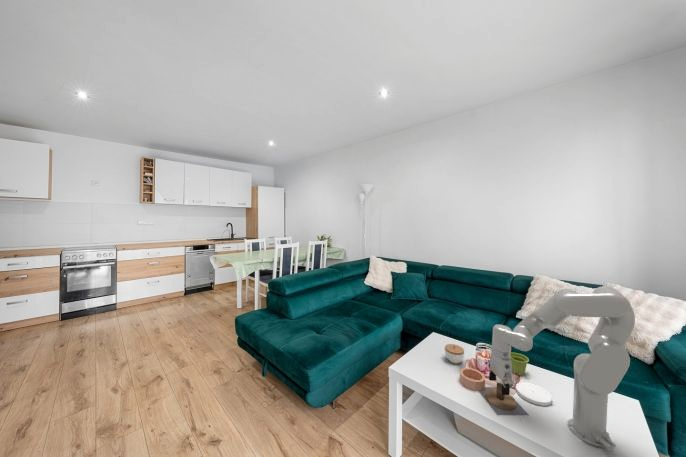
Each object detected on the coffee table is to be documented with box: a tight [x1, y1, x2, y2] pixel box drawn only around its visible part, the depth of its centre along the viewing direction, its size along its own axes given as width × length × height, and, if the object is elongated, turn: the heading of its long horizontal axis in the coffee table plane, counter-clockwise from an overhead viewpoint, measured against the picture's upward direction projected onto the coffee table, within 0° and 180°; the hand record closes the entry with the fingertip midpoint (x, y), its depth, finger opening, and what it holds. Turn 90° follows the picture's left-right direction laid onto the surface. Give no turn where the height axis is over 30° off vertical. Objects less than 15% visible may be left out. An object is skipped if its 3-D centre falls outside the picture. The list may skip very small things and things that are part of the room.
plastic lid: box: [515, 381, 553, 407], centre depth 120 cm, size 14×14×2 cm
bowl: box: [459, 367, 486, 392], centre depth 129 cm, size 11×11×5 cm
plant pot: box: [510, 352, 530, 376], centre depth 139 cm, size 9×9×9 cm
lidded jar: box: [444, 343, 465, 365], centre depth 150 cm, size 11×11×9 cm
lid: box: [485, 382, 517, 410], centre depth 117 cm, size 12×12×7 cm
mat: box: [478, 386, 530, 416], centre depth 117 cm, size 18×14×1 cm
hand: (498, 387), depth 117 cm, fingers open, 9 cm apart
